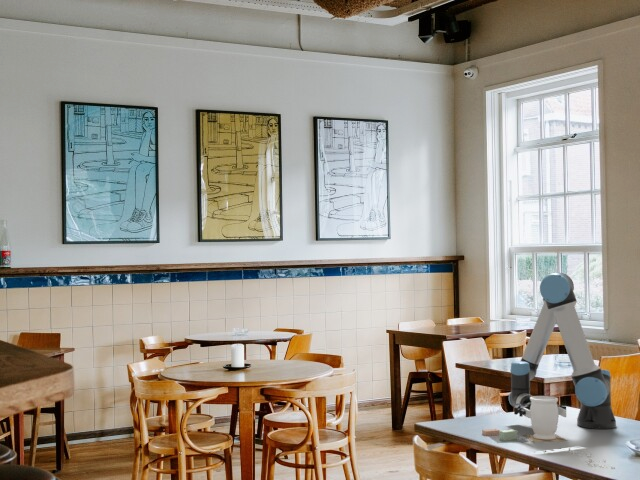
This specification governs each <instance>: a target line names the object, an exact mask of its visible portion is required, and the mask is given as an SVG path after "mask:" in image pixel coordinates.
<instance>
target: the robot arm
mask: <svg viewBox="0 0 640 480" xmlns="http://www.w3.org/2000/svg"><path fill="white" fill-rule="evenodd" d="M574 290H575V285H574V282H573V279H572V278H571V277H570V276H569V275H568V274H566V273H562V272H553V273H549V274H547V275H545V276H544V277H543V278H542V280H541V282H540V284H539V292H540V295H541V296H542V301H543V304H542V308H541V309H540V312H539V314H538V317H537V320H536V321H535V325H534V326H533V329H532V332H531V334H530V337H529V339H528V342H527V343H526V346H525V349H524V351H523V354H522V357H521V359H520V361H519V360H518V361H512V362H511V364H510V386H511V387H510V393H509V395H508V401H509V404H510V405H511V406H512V407H513V409H514V410H513V413H514V414H513V415H518V414H519V417H523V416H524V417H526V418H528V419H531V411H530V406H531V401H530V397H533V396H534V395H532V394H531V381H532V380H533V379H534V378H535V377H536V375H537V370H538V368H539V364H540V363H541V359H542V358H543V355H544V354H545V351H546V348H547V346H548V344H549V341H550V338H551V336H552V334H553V332H554V329H555V326H556V324H557V326H558V330H559V332H560V335H561V338H562V342H563V344H564V347H565V349H566V352H567V353H566V354H567V356H568V358H569V361H570V364H571V367H572V370H573V371H572V373H571V379H572V382H573V385H574V394H575V396H576V398H577V400H578V402H580V410H579V412H578V415H577V418H576V425H577V426H579V427H580V428H586V429H595V430H596V429H598V430H601V429H603V430H607V429H614V428H616V427H617V420H616V417H615V415H614V412H613V409H612V394H611V392H612V391H611V388H612V387H611V379H612V377H611V376H612V375H611V372H610V370H608V369H602V368H601V367H600V366H599V365H597V364H596V363H595V361H594V358H593V356H592V352H591V349H590V346H589V344H588V340H587V338H586V335H585V333H584V330H583V329H584V328H583V327H582V324H581V321H580V318H579V315H578V312H577V310H576V304H577V302H578V301H577V298H576V295H575V292H574ZM557 406H558V412H559V415H560V417H564V418H567V406H566V405H563V404H560V405H559V404H557Z"/></svg>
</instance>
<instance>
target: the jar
mask: <svg viewBox="0 0 640 480" xmlns="http://www.w3.org/2000/svg"><path fill="white" fill-rule="evenodd" d="M532 396H533V397H530V401H531V406H530V411H531V418H530V423H531V427H532V431H533V434H532V435H533V437H534V438H536V439H541V440H552V439H555V438H556V435H555V434H556V432H557V429H558V423H559V418H560V417H559V412H558V406H557V405H558V403H557V402H559V397H556V396H552V395H549V396H548V395H532Z"/></svg>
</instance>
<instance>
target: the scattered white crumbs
mask: <svg viewBox="0 0 640 480" xmlns="http://www.w3.org/2000/svg"><path fill="white" fill-rule="evenodd" d="M568 452H569V453H571V454H573V455H574V456H581V454H580V453H579V454H578V453H577V451H575V450H572V449H571V447H570V448H568ZM574 453H576V454H574ZM583 455H586V458H588V460H587V461H584V462H585V463H586V464H587V465H588V466H590V467H597V464H596V463H598V462H597V460H596V461H594V460H593V458H592V457H591V456H592V453H588V451H587V449H584V452H583ZM602 460H603V461H602V462H604V463H606V462H607V461H606V459H604V458H603V459H602ZM592 463H595V464H592ZM599 463H601V460H599ZM598 467H599V468H603V469H604V468H605V467H606V469H608V467H610V469H616V467H615V466H612V465H611V464H609V465H608V466H606V464H604V465H601V464H598Z"/></svg>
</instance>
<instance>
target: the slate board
mask: <svg viewBox="0 0 640 480" xmlns="http://www.w3.org/2000/svg"><path fill="white" fill-rule="evenodd" d="M488 437H489V438H490V439H491V440H493V441H495V443H497V444H504V443H505V444H507V443H512V444H513V443H529V442H530V441H529V440H527V439H526V438H524V437H522V436H521V435H519V434H517V439H513V440H501V439H499V435H489V436H488Z"/></svg>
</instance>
